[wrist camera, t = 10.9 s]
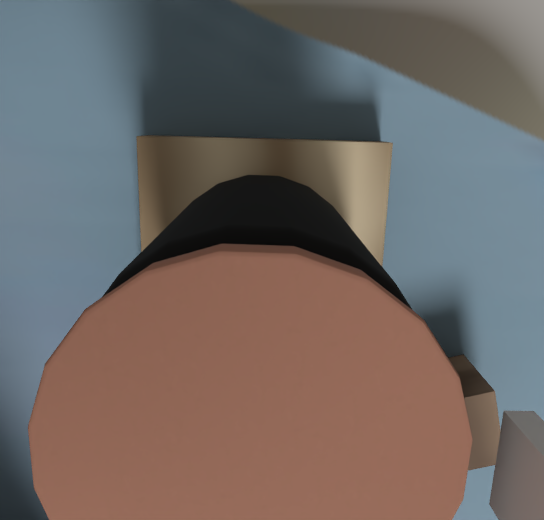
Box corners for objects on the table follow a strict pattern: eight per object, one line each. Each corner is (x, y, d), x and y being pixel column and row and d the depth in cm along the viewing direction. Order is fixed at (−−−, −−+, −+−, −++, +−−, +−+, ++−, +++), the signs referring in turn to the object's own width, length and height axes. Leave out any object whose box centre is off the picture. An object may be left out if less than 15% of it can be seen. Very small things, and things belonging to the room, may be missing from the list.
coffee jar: (257, 381, 31) (243, 700, 14) (130, 260, 29) (-71, 457, 12) (390, 268, 30) (564, 474, 12) (265, 130, 27) (260, 139, 10)
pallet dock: (156, 349, 34) (146, 370, 31) (149, 135, 30) (136, 136, 27) (364, 353, 34) (373, 374, 31) (380, 141, 31) (392, 142, 28)
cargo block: (402, 431, 36) (423, 479, 31) (390, 369, 35) (410, 409, 30) (472, 417, 36) (504, 462, 31) (463, 353, 34) (494, 391, 30)
